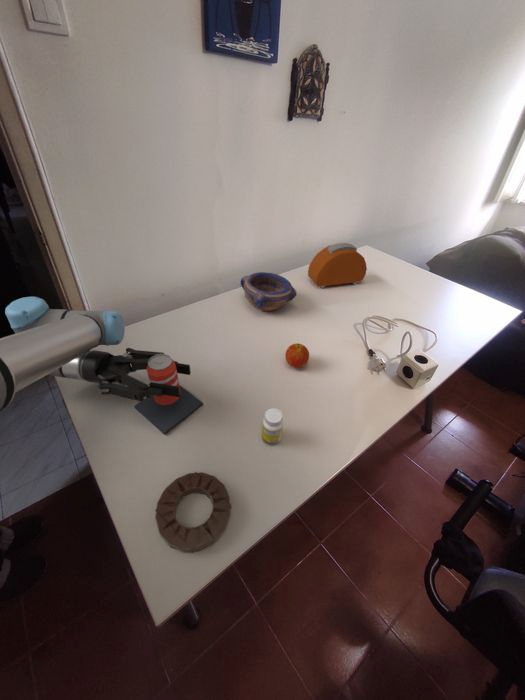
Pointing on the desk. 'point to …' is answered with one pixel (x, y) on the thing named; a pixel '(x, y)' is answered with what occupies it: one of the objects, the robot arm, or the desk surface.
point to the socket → (204, 533)
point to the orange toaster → (337, 265)
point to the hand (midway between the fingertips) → (184, 380)
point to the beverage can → (163, 375)
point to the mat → (169, 410)
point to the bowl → (267, 290)
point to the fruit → (297, 355)
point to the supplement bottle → (272, 426)
